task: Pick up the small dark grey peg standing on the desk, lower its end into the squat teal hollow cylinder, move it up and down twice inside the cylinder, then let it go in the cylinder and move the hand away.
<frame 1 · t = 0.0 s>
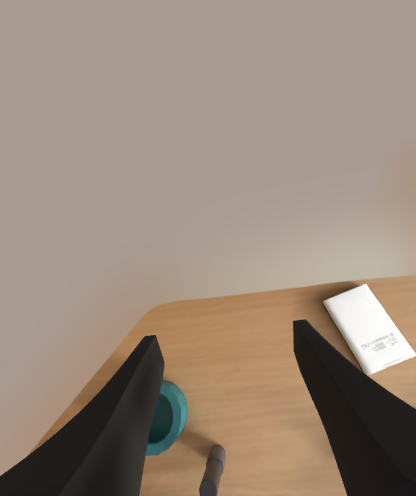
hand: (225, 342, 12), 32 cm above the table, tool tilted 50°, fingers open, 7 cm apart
teal hollow cylinder: (161, 411, 39), on the table
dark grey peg: (217, 454, 35), on the table
hard drive: (362, 327, 40), on the table
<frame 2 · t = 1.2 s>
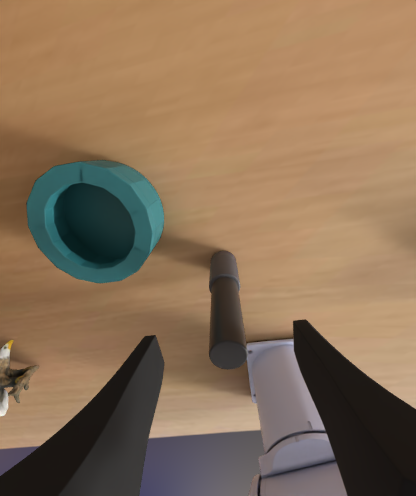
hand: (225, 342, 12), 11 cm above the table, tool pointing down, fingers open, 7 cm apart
eagle figurine: (8, 349, 28), on the table
teal hollow cylinder: (113, 214, 21), on the table
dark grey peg: (223, 262, 22), on the table
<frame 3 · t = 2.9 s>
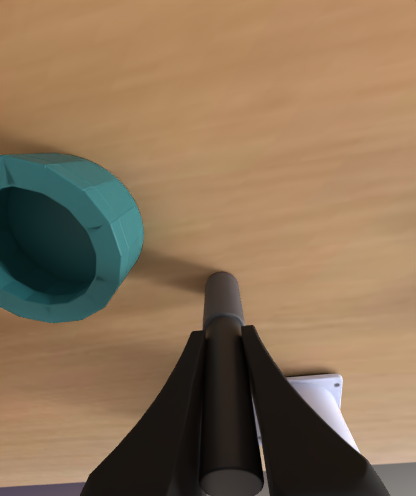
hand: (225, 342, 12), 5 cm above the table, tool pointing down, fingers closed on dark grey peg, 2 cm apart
teal hollow cylinder: (76, 226, 16), on the table
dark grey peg: (221, 285, 17), on the table, touching gripper
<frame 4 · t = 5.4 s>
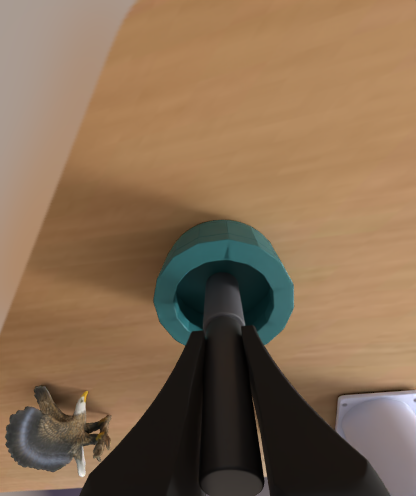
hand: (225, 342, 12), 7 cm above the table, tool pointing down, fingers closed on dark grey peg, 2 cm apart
eagle figurine: (79, 399, 26), on the table
teal hollow cylinder: (221, 272, 19), on the table
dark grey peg: (221, 285, 17), point 2 cm above the table, touching gripper
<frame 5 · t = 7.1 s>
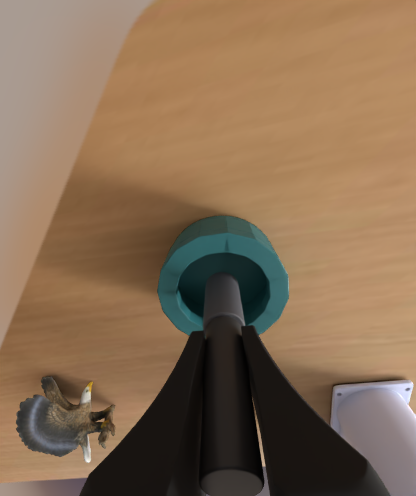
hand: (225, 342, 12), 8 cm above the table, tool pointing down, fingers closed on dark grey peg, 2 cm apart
eagle figurine: (84, 389, 27), on the table
teal hollow cylinder: (221, 266, 20), on the table
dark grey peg: (221, 285, 17), point 3 cm above the table, touching gripper
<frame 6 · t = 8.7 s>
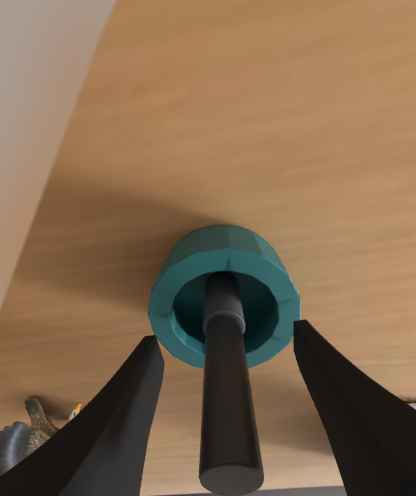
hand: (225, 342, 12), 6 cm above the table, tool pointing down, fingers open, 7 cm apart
eagle figurine: (73, 411, 25), on the table
teal hollow cylinder: (221, 281, 18), on the table
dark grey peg: (221, 284, 17), point 1 cm above the table, touching teal hollow cylinder
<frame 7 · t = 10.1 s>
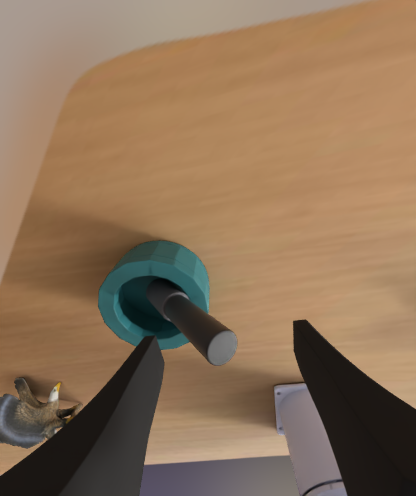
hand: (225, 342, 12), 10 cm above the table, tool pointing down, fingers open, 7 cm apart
eagle figurine: (54, 389, 30), on the table
teal hollow cylinder: (163, 282, 23), on the table
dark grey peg: (158, 291, 22), point 1 cm above the table, tilted 35°, touching teal hollow cylinder
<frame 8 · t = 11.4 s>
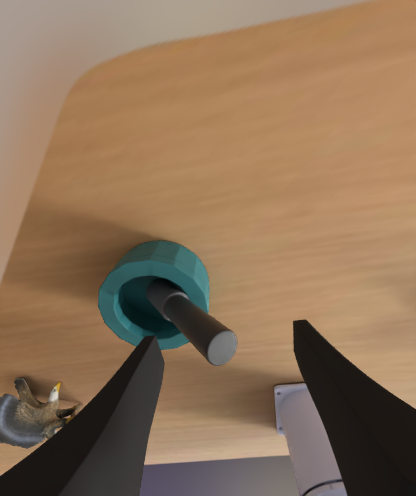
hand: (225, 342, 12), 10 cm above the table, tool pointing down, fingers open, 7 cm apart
eagle figurine: (54, 389, 30), on the table
teal hollow cylinder: (163, 282, 23), on the table
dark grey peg: (158, 291, 22), point 1 cm above the table, tilted 35°, touching teal hollow cylinder
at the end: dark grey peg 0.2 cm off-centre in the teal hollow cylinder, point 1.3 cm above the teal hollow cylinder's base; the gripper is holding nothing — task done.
